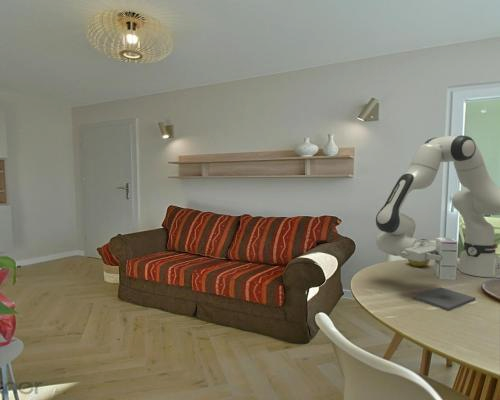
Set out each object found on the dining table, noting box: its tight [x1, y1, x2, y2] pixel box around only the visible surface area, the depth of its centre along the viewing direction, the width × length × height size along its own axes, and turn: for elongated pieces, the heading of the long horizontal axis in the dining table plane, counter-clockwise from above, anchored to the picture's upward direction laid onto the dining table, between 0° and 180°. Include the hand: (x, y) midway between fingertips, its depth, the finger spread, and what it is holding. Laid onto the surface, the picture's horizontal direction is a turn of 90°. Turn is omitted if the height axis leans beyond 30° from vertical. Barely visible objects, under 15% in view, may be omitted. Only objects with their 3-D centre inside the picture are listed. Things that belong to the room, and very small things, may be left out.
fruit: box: [407, 259, 431, 267], centre depth 169 cm, size 10×11×10 cm
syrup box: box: [434, 237, 459, 281], centre depth 123 cm, size 6×6×14 cm
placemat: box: [412, 287, 476, 311], centre depth 125 cm, size 18×13×1 cm
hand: (448, 256), depth 123 cm, fingers closed on syrup box, 8 cm apart
